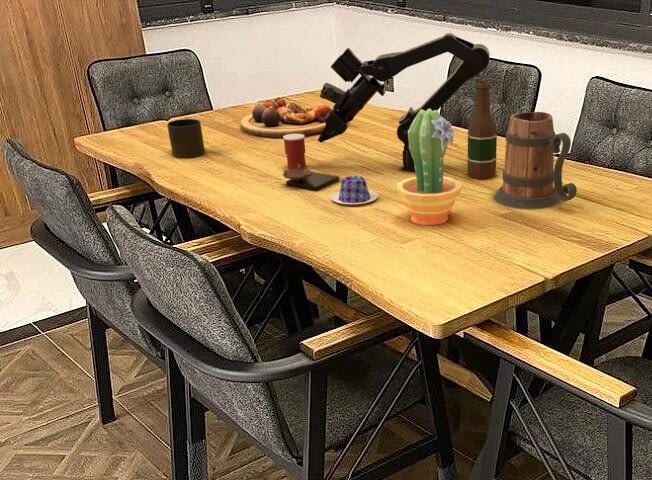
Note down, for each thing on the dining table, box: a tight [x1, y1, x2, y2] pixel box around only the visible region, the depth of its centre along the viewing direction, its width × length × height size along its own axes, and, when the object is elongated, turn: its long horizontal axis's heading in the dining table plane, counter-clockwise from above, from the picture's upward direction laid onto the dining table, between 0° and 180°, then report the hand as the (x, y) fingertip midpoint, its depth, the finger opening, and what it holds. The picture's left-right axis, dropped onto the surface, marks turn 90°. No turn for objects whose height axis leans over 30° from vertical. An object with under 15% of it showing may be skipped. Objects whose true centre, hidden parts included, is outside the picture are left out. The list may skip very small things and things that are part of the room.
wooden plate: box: [239, 96, 332, 138], centre depth 273 cm, size 32×32×8 cm
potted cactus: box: [396, 109, 462, 226], centre depth 192 cm, size 15×15×25 cm
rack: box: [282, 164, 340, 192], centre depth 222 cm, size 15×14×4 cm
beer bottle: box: [467, 81, 498, 180], centre depth 220 cm, size 8×8×24 cm
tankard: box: [493, 111, 578, 210], centre depth 203 cm, size 24×17×20 cm
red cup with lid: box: [282, 134, 307, 170], centre depth 233 cm, size 6×6×9 cm
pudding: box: [330, 175, 379, 205], centre depth 210 cm, size 12×12×5 cm
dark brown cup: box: [166, 118, 206, 159], centre depth 247 cm, size 9×12×9 cm
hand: (322, 136), depth 230 cm, fingers open, 9 cm apart
